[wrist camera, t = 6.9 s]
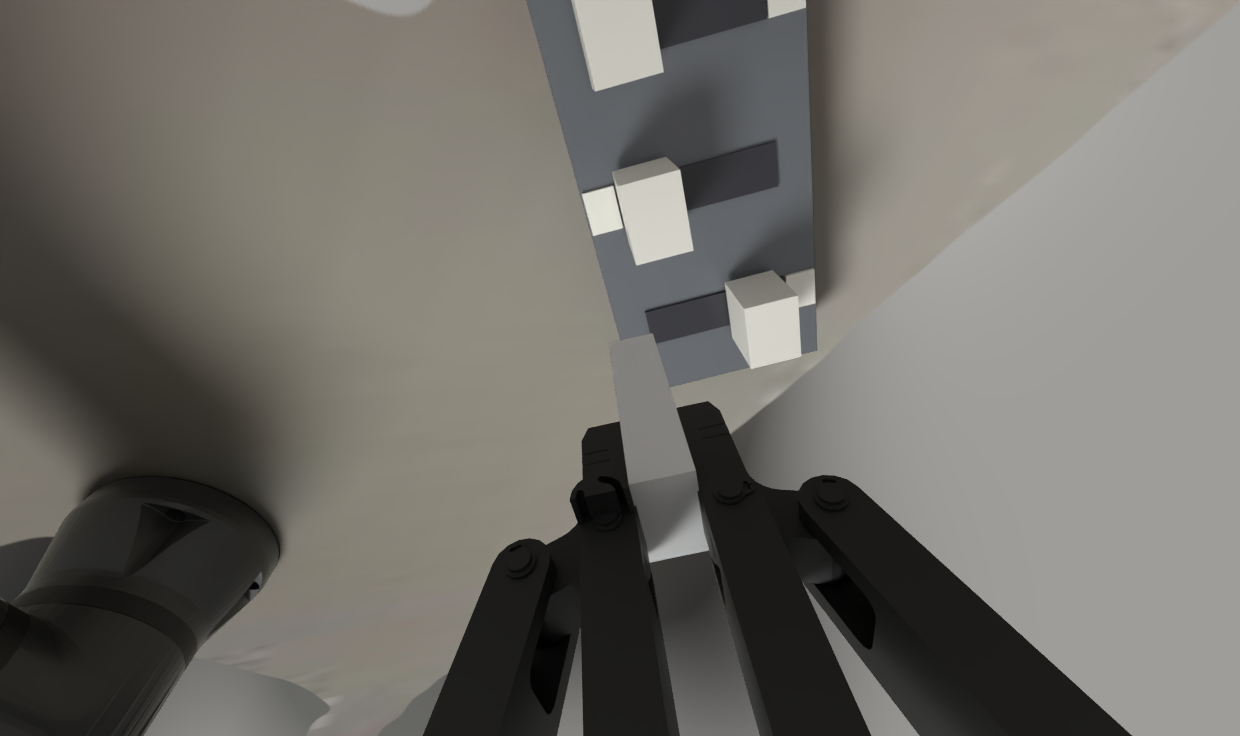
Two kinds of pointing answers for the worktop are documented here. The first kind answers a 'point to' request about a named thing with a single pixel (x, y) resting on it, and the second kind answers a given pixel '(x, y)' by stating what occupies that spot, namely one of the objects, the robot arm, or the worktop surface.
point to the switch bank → (697, 166)
